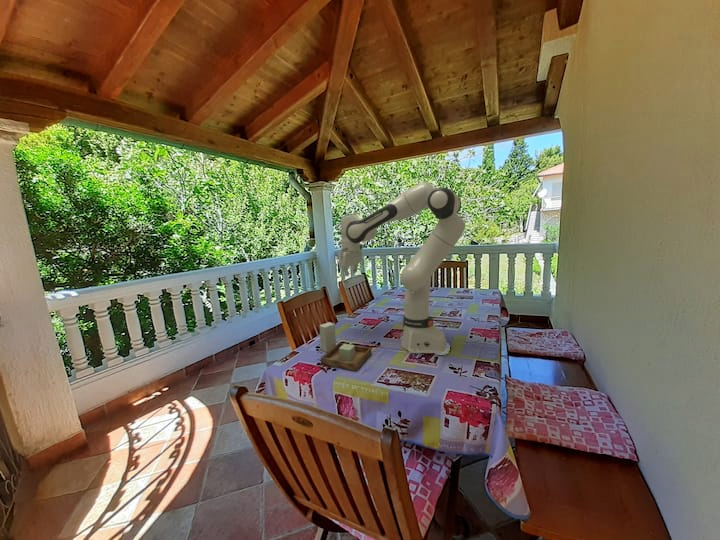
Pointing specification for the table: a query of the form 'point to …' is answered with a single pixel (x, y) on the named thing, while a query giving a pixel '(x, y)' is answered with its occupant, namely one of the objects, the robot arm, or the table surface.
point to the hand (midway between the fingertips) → (351, 274)
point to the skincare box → (327, 336)
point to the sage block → (346, 352)
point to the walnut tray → (333, 361)
